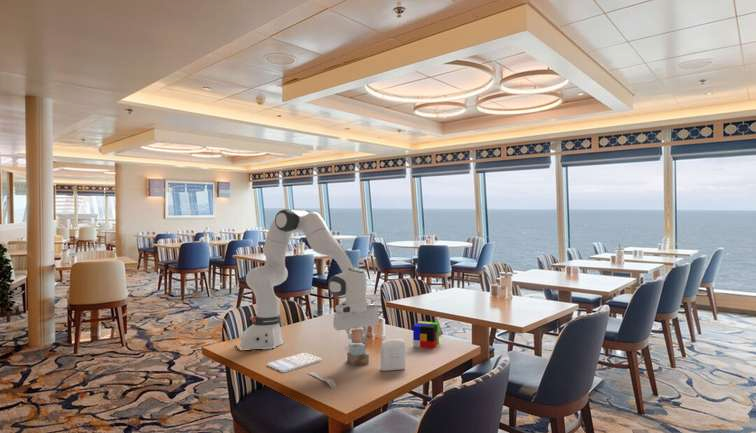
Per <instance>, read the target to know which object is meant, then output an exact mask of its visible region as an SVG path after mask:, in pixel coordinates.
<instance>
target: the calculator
mask: <svg viewBox="0 0 756 433" xmlns="http://www.w3.org/2000/svg"><path fill="white" fill-rule="evenodd" d="M322 361H323V359H322V358H321V357H319V356H316V355H313V354H310V353H309V352H308V353H307V352H301V353H298V354H294V355H291V356H287V357H283V358H280V359H277V360H276V359H275V360H273V361H270V362H269V361H268V362H267V364H266V366H267V365H268V366H270V367H272V368H271V369H273V368H274V369H273V370H275V369H276V370H275V371H277V370H279V371H281V372H280V373H282V372H286V373H289V372H292V371H291V370H293V371H296V370H298V368H299V369H302V368H305V366H306V367H308V366H312V365H315V364H319V363H321V362H322ZM268 366H267V367H268ZM270 367H269V368H270ZM295 369H296V370H295ZM279 371H278V372H279ZM288 371H289V372H288Z"/></svg>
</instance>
